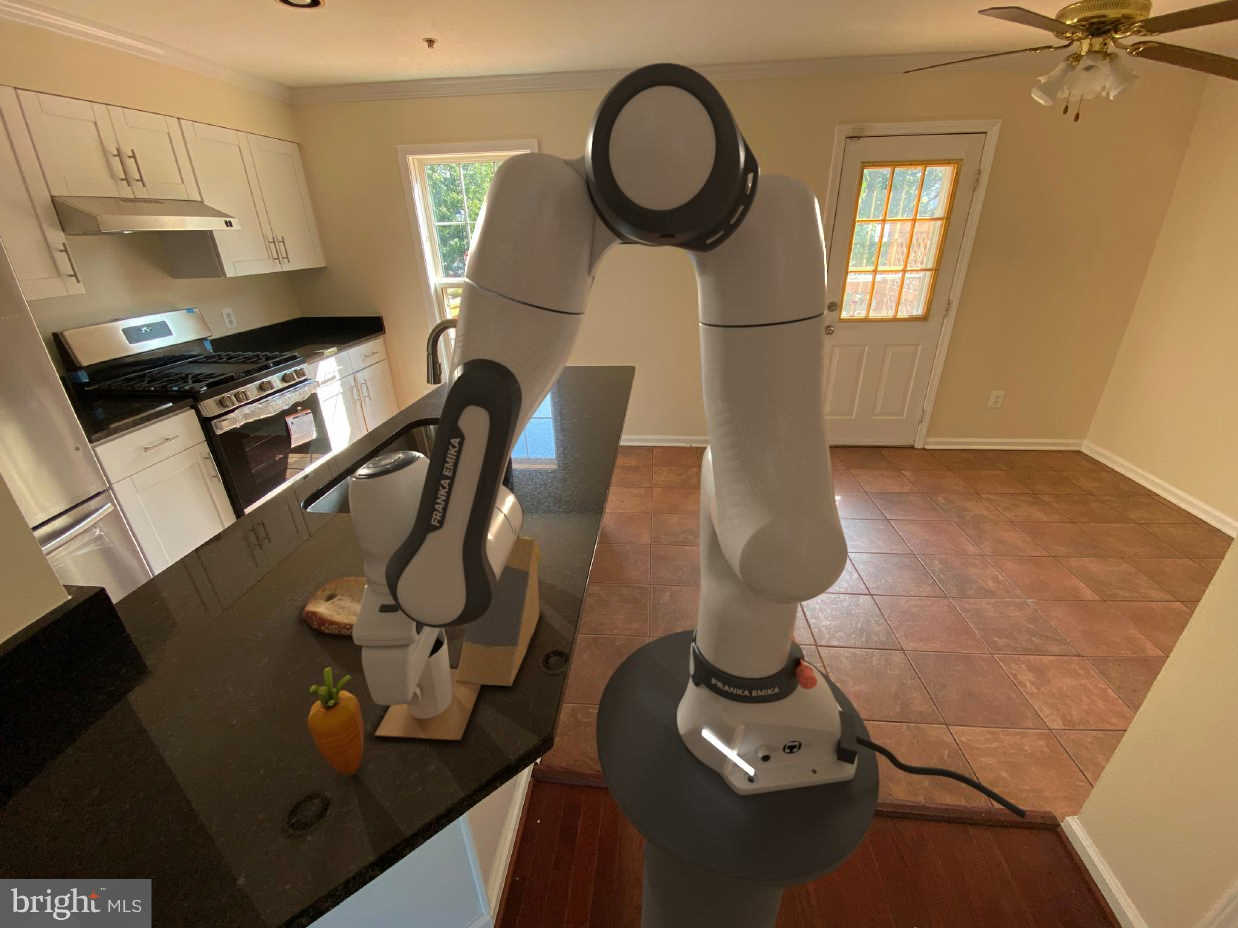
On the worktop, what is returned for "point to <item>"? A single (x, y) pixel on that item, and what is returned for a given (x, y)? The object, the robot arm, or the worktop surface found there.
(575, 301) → the robot arm
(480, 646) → the sandwich container
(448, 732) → the cork coaster
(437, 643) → the white coffee cup
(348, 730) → the carrot
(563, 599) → the worktop surface
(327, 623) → the slice of bread
